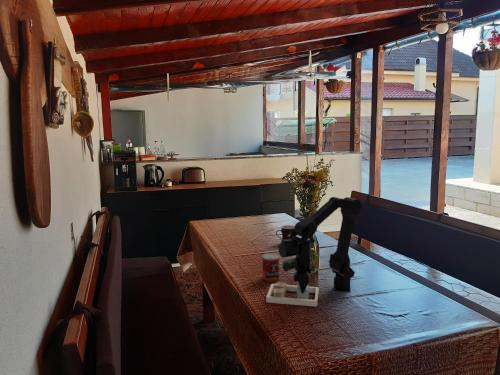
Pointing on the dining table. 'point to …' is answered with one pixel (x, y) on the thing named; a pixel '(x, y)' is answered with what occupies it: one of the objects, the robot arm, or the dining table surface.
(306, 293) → the block teal
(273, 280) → the canned food
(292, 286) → the tray
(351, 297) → the dining table surface
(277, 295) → the maple block
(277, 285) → the maple block
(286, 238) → the coffee mug
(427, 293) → the dining table surface
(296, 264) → the robot arm
